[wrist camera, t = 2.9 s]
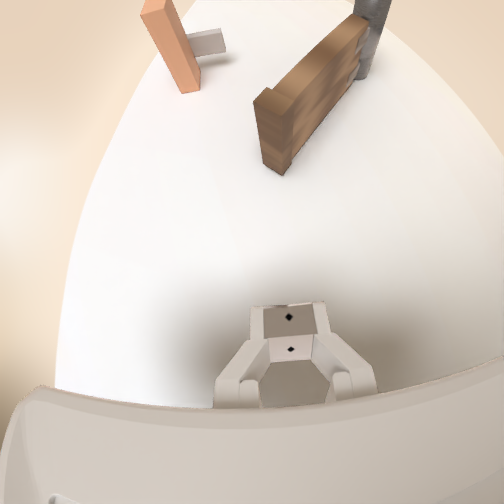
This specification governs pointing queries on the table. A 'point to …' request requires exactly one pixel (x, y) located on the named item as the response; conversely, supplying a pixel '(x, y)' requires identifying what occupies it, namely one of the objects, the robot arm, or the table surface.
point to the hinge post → (375, 11)
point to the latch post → (179, 43)
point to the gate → (308, 93)
